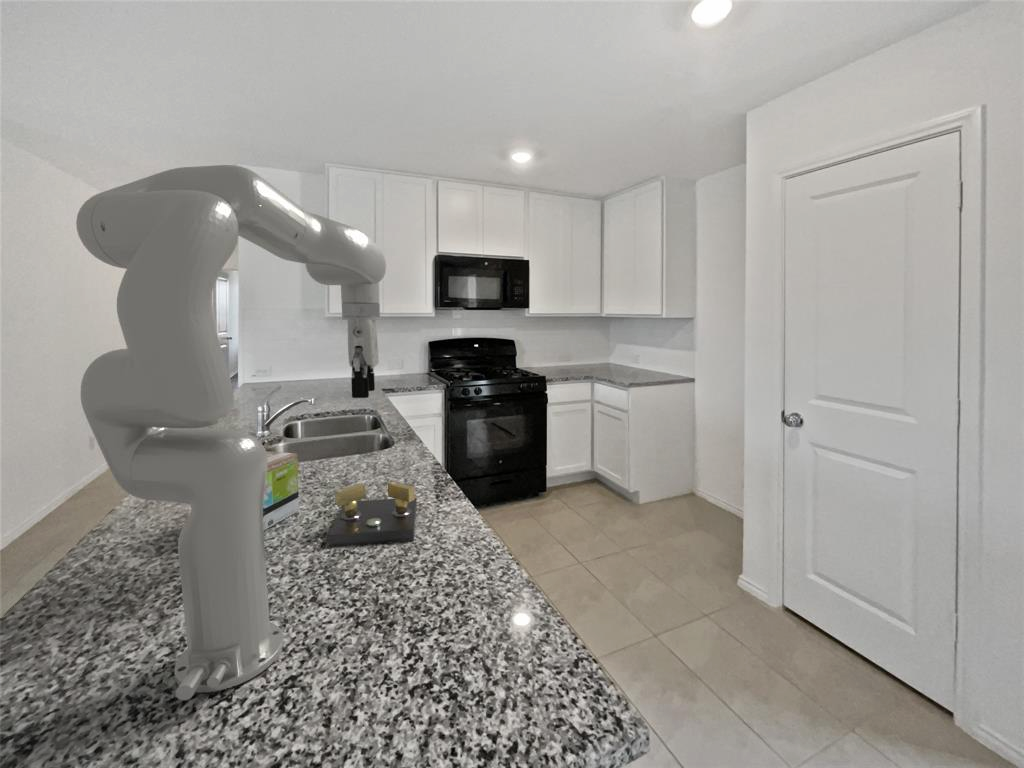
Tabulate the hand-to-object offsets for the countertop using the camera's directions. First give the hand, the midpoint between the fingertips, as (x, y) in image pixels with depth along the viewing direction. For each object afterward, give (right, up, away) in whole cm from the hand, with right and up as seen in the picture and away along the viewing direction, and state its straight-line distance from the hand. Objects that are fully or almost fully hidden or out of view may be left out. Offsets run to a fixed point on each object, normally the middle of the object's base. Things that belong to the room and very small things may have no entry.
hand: (364, 394), depth 98 cm
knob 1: (-4, -27, +5) cm, 28 cm away
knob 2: (+6, -27, +7) cm, 28 cm away
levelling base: (+1, -30, +6) cm, 30 cm away
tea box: (-26, -30, +8) cm, 40 cm away
